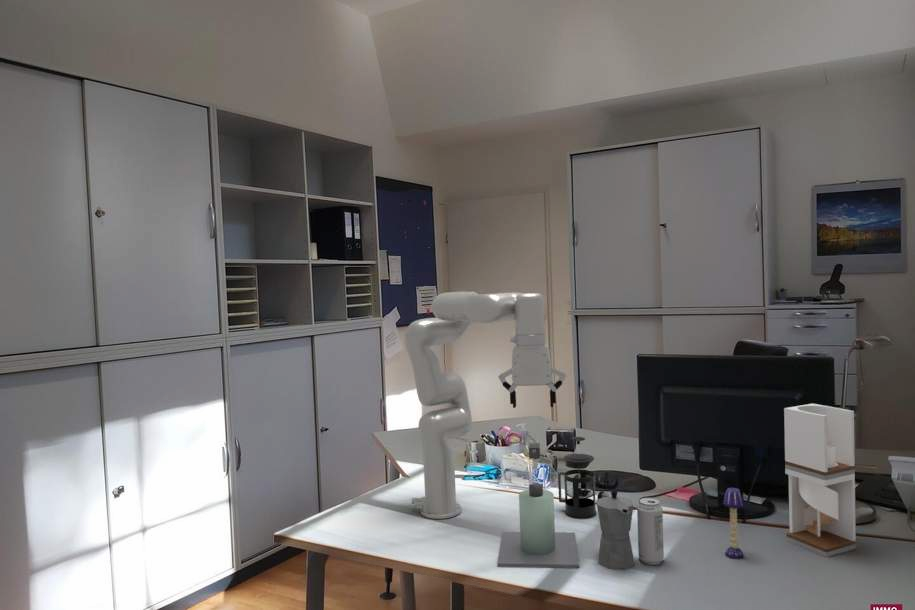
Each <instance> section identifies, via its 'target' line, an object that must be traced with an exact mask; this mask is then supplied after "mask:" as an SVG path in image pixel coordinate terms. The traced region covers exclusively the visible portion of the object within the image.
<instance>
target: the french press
mask: <svg viewBox="0 0 915 610" xmlns="http://www.w3.org/2000/svg"><path fill="white" fill-rule="evenodd" d="M570 440H571V441H574V442H575V441H576V444H577V453H569V454H566V455H565V456H563V460H564V461H565V463H564V465H565V467H567V468H571V469H570V470H566V471H560V472H558V474H557V480H558V482H557V483H558V502H559V503H563V504H564V505H565V510H564V514H565V516H567V517H568V518H571V519H577V520H578V519H579V520H585V519H592V518H594V517H596V516H597V514H598V511H597V510H596V508H597V503H596V481H595V479H596V477H595V472H593V471H592V470H587V468H588V467H589V465H590V464H591V463H592V462H593V461H594V460H595V457H594V456H593V455H591V454H586V453H580V444H581V442H583V441H586V438H585V437H583V436H573V437H570ZM570 475H578V478H577V477H570ZM562 476H564V477H563V479H564V499H562V479H561V477H562ZM587 476H589V477H587ZM568 482H569V483H572V488H568ZM590 482H592V489H590V488H587V483H590ZM568 497H569V498H568Z"/></svg>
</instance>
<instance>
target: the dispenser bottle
mask: <svg viewBox="0 0 915 610" xmlns="http://www.w3.org/2000/svg"><path fill="white" fill-rule="evenodd" d="M543 486H544V485H543V484H542V483H536V482H535V483H530V484H529V485H528V489H524V490H522V491H521V492H519V494H518V503H519V504H518V506H519V507H518V509H519V530H520V531H502V532H501V538H500V544H499V550H498V557H497V563H496V565H497V567H501V568H503V567H504V568H508V567H509V568H546V569H547V568H551V569H552V568H553V569H556V568H557V569H579V568H580V564H579V556H578V555H579V553H578V548H577V539H576V533H575V532H565V531H563V532H559V531H558V532H557V531H555V530H556V528H555V502H554V501H555V500H554V498H555V497H554V493H553V492H552V491H550V490H548V489H544V487H543Z"/></svg>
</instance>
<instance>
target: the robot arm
mask: <svg viewBox="0 0 915 610" xmlns="http://www.w3.org/2000/svg"><path fill="white" fill-rule="evenodd" d="M544 301H545V300H544V296H543V295H542V294H541V293H538V292H527V293H522V292H514V291H513V292H497V293H485V294H483V293H482V294H479V293H477V292H475V291H453V292H449V291H448V292H442V293H440V294H438V295H437V296H435V297H434V299H433V300H432V302H431V306H430V308H431V311H432V314H433V315H434V316H435V317H427V318H421V319H416V320H414V321H412V322H411V323H410V324H409V325H408V326H407V328H406V330H405V334H404V345H405V348H406V352H407V355H408V356H409V360H410V362H411V366H412V367H411V368H412V373H413V377H414V383H415V387H416V393H417V397H418V400H419V402H420V404H421V405H423V406H425V407H436V406H440V405H445V404H446V406H447V407H445V408H440V409H436V410H431V411H428V412H425V413H424V414H422V416H421V417H420V419H419V420H418V431H419V432H418V433H419V436H420V441H421V447H422V458H423V459H422V460H423V463H422V464H423V479H424V481H423V482H424V484H423V485H424V496H422V497H421V498H419V497H411V504H412V505H413V506H414V507H421V508H420V514H421V515H422V516H423V517H425V518H428V519H433V520H434V519H435V520H437V519H438V520H442V519H450V518H454V517H456V516H458V515H459V514H461V512H462V505H460V504H459V503H457V493H456V492H457V491H456V490H457V489H456V470H455V469H456V467H455V454H454V451H453V449H452V447H451V446H450V444H449V442H448V441H449V440H452V439H455V438H459V437H462V436H465V435H467V434H468V433H470V431H471V430H472V425H473V419H472V418H473V416H472V412H471V406H470V402H469V397H468V392H467V391H468V390H467V387H466V384H465V382H464V379H463V378H462V376H461V375H459V374H458V373H456V372H453V371H449V372H442V369H441V363H440V360H439V358H438V356H437V354H436V353H435V351H433V349H431V348H430V347H432V346H440V345H449V344H454V343H456V342H458V341H459V340H460V339H461V338H462V336H463V335H464V334H465V332H466V330H467V329H468V328H469V326H470V325H471V323H480V324H481V323H483V324H487V323H491V324H493V323H500V322H501V323H502V322H511V321H515V322H514V323H515V324H514V325H515V326H514V327H515V335H514V336H510V337H509V338H510V341H509V342H510V343H513V344H516V345H514V346H513V347H512V355H511V368H510V369H507V370H506V371H504V372H502V373H500V374H499V375H498V379H499V381H500V383H501V385H502V386H503V387H504V388H505V389H506V391H508V392H509V400H510V401H509V402H510V405H512V408H513V409H515V408H516V407H517V395H516V394H517V392H516V388H517V387H518V386H519V387H527V386H528V387H529V386H530V387H531V386H533V387H535V386H536V387H537V386H547V387H548V388H549V389H550V390H549V399H550V400H549V401H550V403H549V404H550V408H554V404H556V403H557V399H556V398H557V396H556V392H557V390H558V389H559V388H560V387H561V386H562V385H563V383H564V381H565V379H566V377H567V374H566V373H565V372H563V371H561V370H559V369H557V368H555V367H553V366H552V360H551V359H552V358H551V353H550V348H549V345H547V344H546V329H545V324H546V323H545V306H544V305H545V302H544ZM553 375H556V376H557V377H559V378H558V379H557V381H556V382H555V383H553ZM509 376H511V379H512V383H511V384H510V383H509V382H507V380H506V378H507V377H509Z"/></svg>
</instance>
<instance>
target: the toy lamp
mask: <svg viewBox="0 0 915 610" xmlns="http://www.w3.org/2000/svg"><path fill="white" fill-rule="evenodd" d="M723 505H724V506H725V507H728V508H729V511H730V512H729V522H730V524H729V529H730V531H729V534H730V537H729V538H730V540H729V541H730V546H729V547H727V548H726V549H725V553H724V554H725V556H726V558H727V557H728V558H730V559H737V560H738V559H742V558H744V552H743V550H741V548H739V544H738V543H739V542H738V540H739V537H738V535H739V531H738V512H737V511H738V509H740V508H741V509H742V508H743V507H744V506H745V505H744V500H743V497H742V494H741V491H740V489H739V488H737V487H729V488H728V487H727V489H726V490H725V494H724V500H723Z"/></svg>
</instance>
